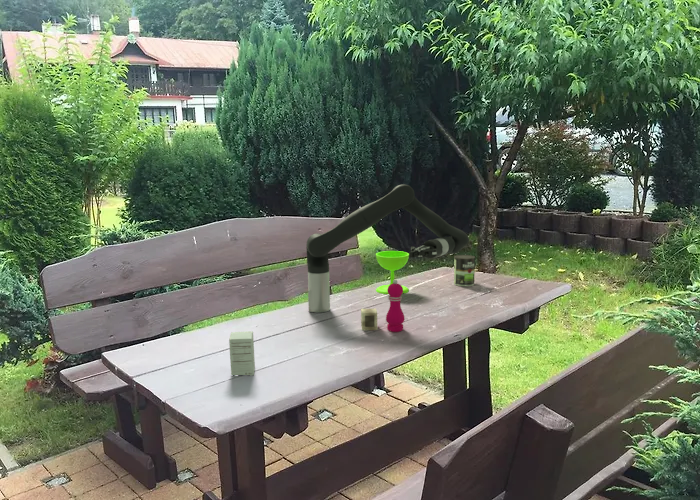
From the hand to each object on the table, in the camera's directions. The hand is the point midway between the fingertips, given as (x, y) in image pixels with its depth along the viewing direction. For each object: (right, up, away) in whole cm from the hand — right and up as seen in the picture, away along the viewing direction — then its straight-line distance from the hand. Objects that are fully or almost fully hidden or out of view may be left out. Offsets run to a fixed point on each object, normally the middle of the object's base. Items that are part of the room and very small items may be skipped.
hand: (410, 254), depth 243 cm
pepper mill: (-6, -29, -2) cm, 30 cm away
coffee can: (+33, -15, +66) cm, 76 cm away
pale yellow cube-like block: (-16, -29, +1) cm, 33 cm away
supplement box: (-59, -38, -42) cm, 82 cm away
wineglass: (-3, -18, +56) cm, 59 cm away
